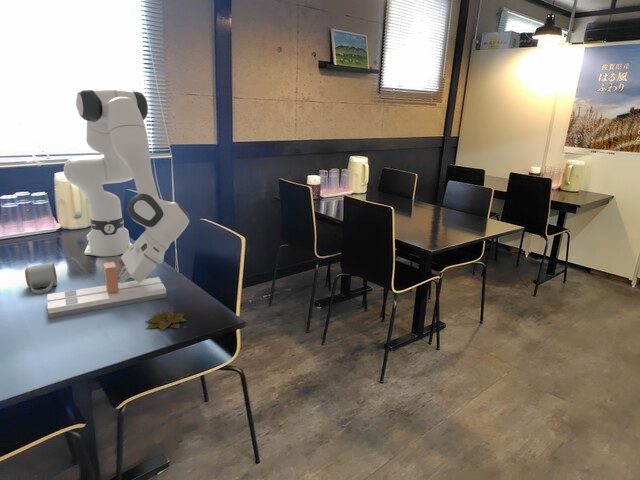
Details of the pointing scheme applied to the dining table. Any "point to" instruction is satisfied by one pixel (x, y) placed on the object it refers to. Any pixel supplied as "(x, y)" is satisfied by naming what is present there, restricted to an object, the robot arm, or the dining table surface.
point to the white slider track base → (104, 297)
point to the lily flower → (170, 316)
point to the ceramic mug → (41, 277)
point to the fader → (111, 277)
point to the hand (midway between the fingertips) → (119, 281)
